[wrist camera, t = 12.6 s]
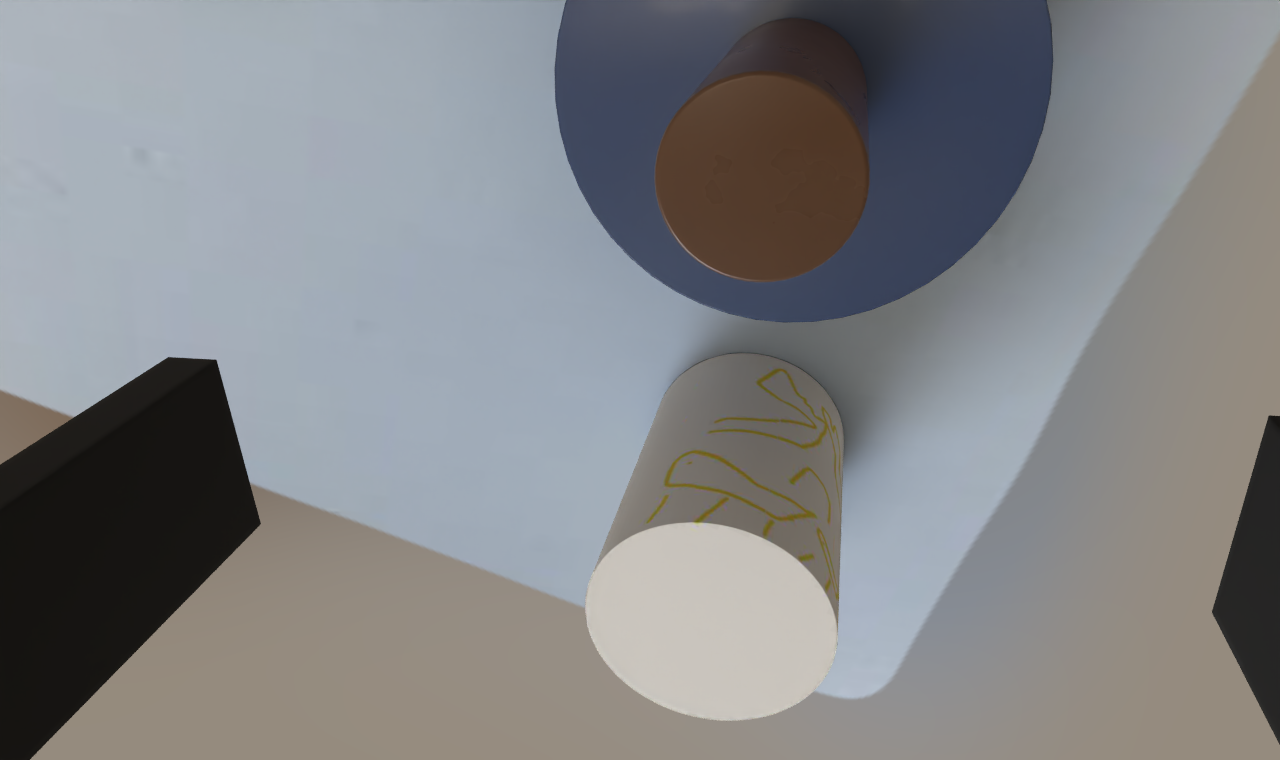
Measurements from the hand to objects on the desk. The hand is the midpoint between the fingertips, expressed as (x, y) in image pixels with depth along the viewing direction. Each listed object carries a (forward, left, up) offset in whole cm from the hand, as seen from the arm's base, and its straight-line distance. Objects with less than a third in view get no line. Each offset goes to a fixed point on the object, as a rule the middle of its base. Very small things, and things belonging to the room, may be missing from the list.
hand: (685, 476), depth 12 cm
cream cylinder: (+14, -2, -25) cm, 29 cm away
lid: (-2, 0, -16) cm, 16 cm away
